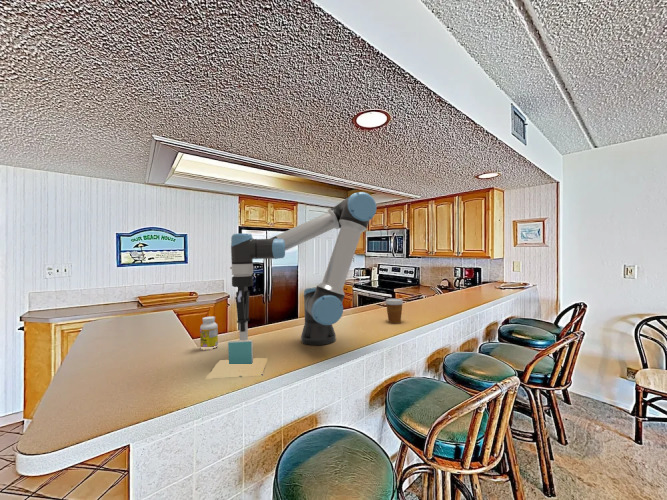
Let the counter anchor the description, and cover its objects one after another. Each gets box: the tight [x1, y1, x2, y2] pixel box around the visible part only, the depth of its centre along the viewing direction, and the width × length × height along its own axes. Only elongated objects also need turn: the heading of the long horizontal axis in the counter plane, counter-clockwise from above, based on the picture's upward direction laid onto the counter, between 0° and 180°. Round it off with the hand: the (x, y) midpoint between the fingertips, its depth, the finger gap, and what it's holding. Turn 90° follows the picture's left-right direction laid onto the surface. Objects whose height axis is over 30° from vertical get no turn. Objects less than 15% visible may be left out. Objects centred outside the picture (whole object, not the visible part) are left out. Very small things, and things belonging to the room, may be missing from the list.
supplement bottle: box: [199, 315, 219, 348], centre depth 124 cm, size 7×7×13 cm
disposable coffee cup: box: [384, 298, 404, 324], centre depth 162 cm, size 10×10×12 cm
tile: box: [227, 339, 254, 364], centre depth 104 cm, size 8×2×8 cm, turn 95°
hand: (243, 339), depth 111 cm, fingers closed
